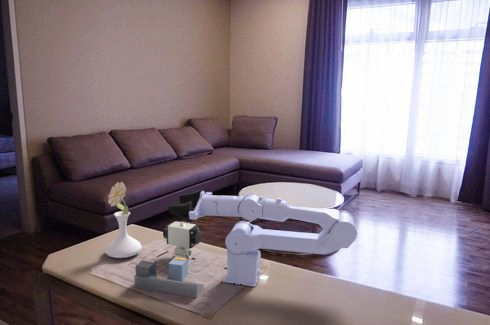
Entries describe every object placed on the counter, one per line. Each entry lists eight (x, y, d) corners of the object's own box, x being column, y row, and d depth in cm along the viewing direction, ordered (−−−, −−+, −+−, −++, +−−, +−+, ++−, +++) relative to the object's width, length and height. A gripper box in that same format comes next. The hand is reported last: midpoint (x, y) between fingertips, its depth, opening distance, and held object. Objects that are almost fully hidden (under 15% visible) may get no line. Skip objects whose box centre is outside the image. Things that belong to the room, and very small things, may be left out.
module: (187, 274, 104) (187, 258, 103) (182, 281, 101) (181, 264, 100) (175, 273, 105) (174, 256, 104) (169, 279, 102) (168, 262, 101)
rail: (203, 287, 98) (203, 266, 96) (196, 297, 93) (196, 275, 92) (144, 278, 102) (143, 258, 101) (134, 287, 97) (133, 266, 96)
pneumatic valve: (195, 263, 111) (195, 227, 109) (163, 257, 115) (162, 221, 113) (203, 256, 116) (203, 221, 114) (172, 250, 120) (171, 216, 118)
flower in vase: (104, 249, 120) (99, 177, 115) (139, 244, 125) (136, 174, 120) (107, 266, 108) (102, 187, 104) (145, 259, 113) (142, 183, 108)
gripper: (225, 183, 106) (182, 182, 109) (210, 203, 93) (162, 201, 96) (227, 205, 108) (185, 203, 111) (212, 227, 95) (165, 225, 98)
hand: (174, 204), depth 104 cm, fingers open, 7 cm apart
